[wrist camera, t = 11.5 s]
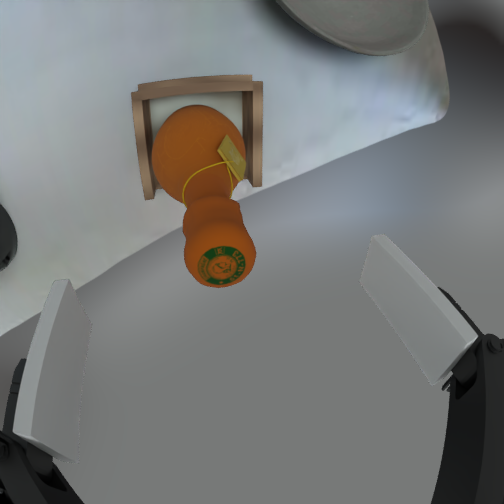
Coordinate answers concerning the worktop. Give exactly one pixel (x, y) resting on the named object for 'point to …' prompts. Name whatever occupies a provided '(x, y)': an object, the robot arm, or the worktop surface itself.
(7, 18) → the worktop surface
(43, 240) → the worktop surface
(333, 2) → the bowl
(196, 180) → the wine bottle
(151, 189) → the walnut U-rest
